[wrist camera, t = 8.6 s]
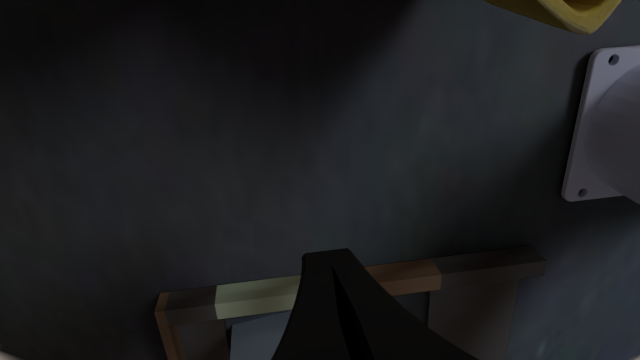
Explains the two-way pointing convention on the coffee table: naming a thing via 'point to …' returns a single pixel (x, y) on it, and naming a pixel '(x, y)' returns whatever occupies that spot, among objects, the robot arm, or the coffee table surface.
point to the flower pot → (563, 12)
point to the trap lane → (396, 278)
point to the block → (258, 337)
